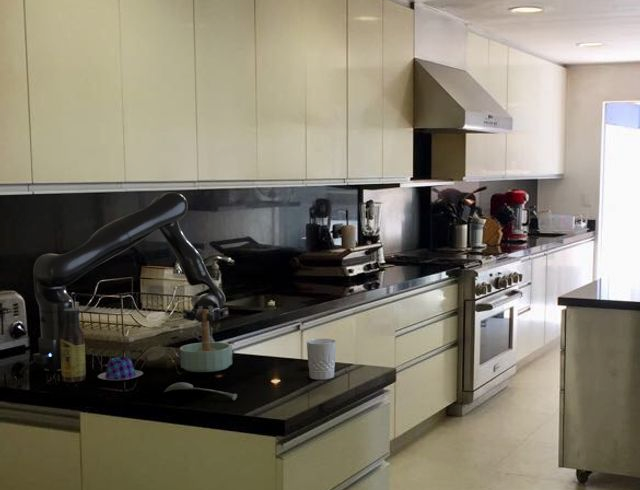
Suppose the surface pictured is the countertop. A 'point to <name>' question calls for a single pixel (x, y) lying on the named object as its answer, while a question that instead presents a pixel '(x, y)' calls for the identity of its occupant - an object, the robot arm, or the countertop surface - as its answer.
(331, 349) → the white cup
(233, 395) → the soupspoon
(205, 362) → the bowl
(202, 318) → the stirrer
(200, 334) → the kitchen whisk
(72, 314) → the sauce bottle
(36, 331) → the countertop surface
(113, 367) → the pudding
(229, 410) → the countertop surface
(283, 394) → the countertop surface
